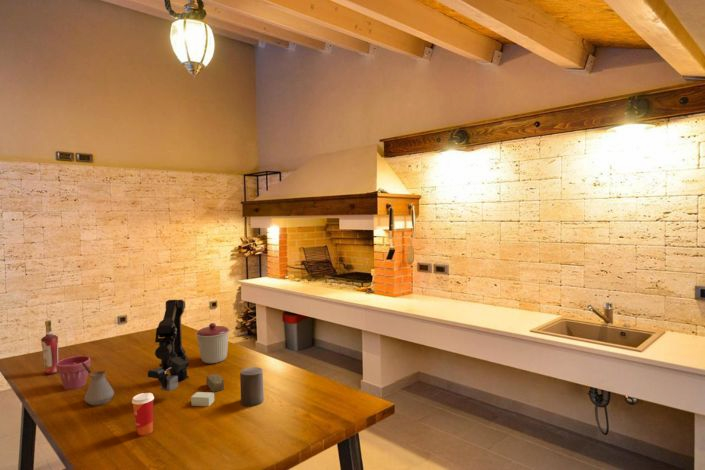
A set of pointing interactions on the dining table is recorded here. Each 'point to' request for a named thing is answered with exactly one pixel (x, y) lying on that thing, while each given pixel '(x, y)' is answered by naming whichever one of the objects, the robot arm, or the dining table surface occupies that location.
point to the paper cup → (143, 413)
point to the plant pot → (73, 371)
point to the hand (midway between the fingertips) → (169, 385)
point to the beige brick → (202, 399)
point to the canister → (213, 343)
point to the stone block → (215, 382)
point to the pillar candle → (251, 386)
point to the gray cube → (171, 383)
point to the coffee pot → (98, 388)
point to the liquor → (50, 349)
